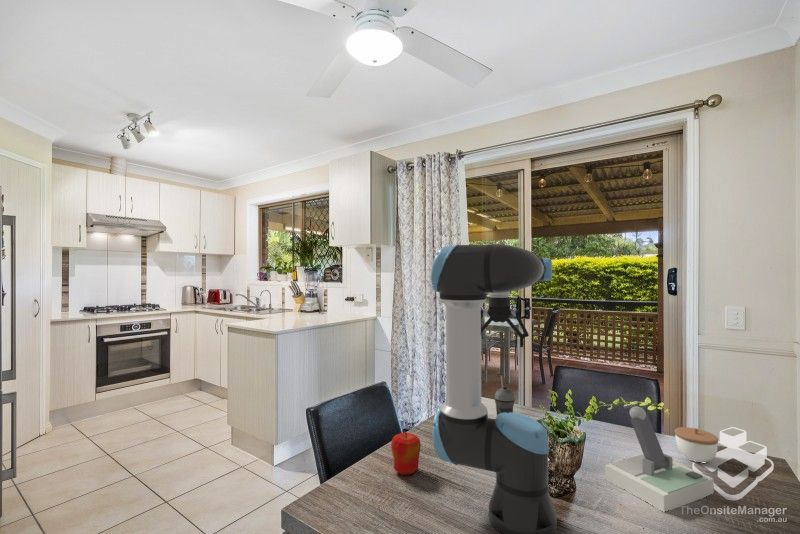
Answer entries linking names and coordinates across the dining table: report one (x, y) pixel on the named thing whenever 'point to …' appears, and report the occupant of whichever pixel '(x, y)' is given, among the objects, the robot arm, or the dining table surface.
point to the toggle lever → (647, 438)
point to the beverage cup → (504, 400)
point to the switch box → (659, 482)
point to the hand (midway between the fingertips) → (499, 355)
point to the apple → (406, 453)
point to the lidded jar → (696, 443)
